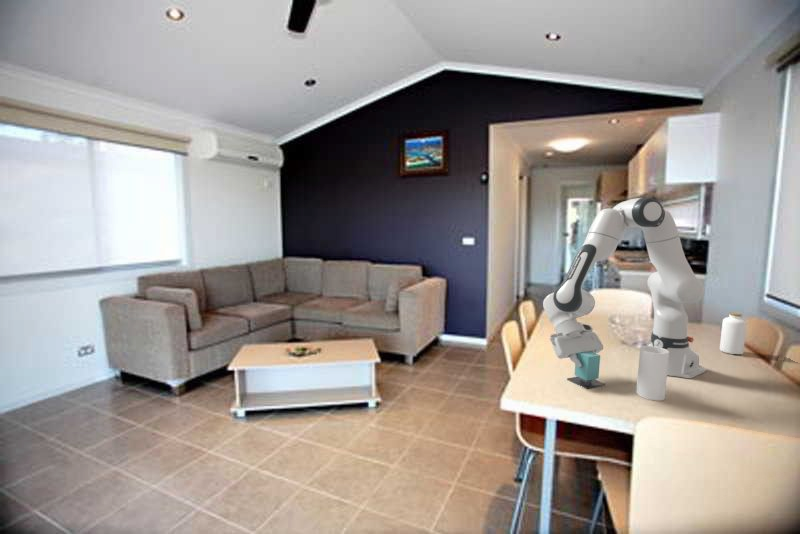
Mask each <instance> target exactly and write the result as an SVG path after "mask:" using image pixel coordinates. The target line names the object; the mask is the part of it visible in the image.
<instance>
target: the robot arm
mask: <svg viewBox="0 0 800 534" xmlns="http://www.w3.org/2000/svg"><path fill="white" fill-rule="evenodd" d="M638 228H639V229H640V230H641V231H642V232H643V237H644V240H645V241H644V242H645V245H646V250H647V254H648V256H649V257H648V258H649V261H650V262H651V264H652V265H653V266H654V268H655V270H656V271H654V272H652V273H651V274H650V275H649V276H648V278H647V282H646V283H647V288H648V289H649V291H650V294H651V295H650V296H651V301H652V305H653V307H652V308H653V325H652V328H653V329H652V332H651V333H650V334H651V335H650V343H649V344H648V346H655V347H660V348H664V349H666V350H668V351H669V359H668V370H667V376H671V377H677V378H678V377H679V378H685V379H692V378H695V377H698V375H701V374H703V373H705V372H707V369H706V368H705V366H702V365H700V356H699V354H697V353H696V351H694V350H693V349H692V348H691V347H690V344H689V343H693V342H694V337H692V336H688V326H689V317H688V314H687V312H686V310H685V307H684V306H685V305H692V304H696V303H698V302H699V301H700V300H701V299H702V298H703V297H704V294H705V286H704V284H703V283H702V282H701V281H700V280H699V279H698V278H697V276H696V275H695V272H694V271H693V269H692V267H691V265H690V264H689V262H688V259H687V258H686V256H685V253H684V249H683V244H682V242H681V238H680V234H679V230H678V228H677V224H676V222H675V220H674V217H673V216H672V213H671V212H669V211H668V210H666V209H664V206H663V204H662V203H661V202H660V201H659V200H657V199H656V198H653V197H647V196H646V197H637V198H631V199H627V200H625V201H619V202H617V203H615V204H613V205H612V206H611V207H610V208H603V209H601V210H599V212H598V213H597V214H596V215H595V217H594V219H593V221H592V223H591V225H590V227H589V229H588V233H587V235H586V238H585V239H584V241H583V244H582V246H581V247H580V248H579V250H578V251H577V253H576V255H575V257H574V259H573V260H572V263H571V265H570V266H569V269H568V271H567V273H566V275H565V277H564V278H563V280H562V282H561V283H560V284H559V285H558V286H557V287H556V289H555V290H554V291H553V292H552V293H549V294H548V295H546V297H545V298H544V299H543V302H542V307H543V310H544V312H545V313H546V316H547V319H548V321H550V322H551V324H552V325H553V328H554V332H555V333H552V334H551V335H550V336H549V340H550V342H551V345H552V348H553V349H552V350H553V351H554V353H555V355H556V357H557V359H561V360H562V359H566V358H569V360H570V361H571V362H573V363H574V365H575V364H576V365H577V367H578V368H581V367H583V366H584V364H583V363H582V361H579V360H578V359H577V358H576V357H577V356H576V354H578V353H583V352H589V351H590V352H593V353H595V354H598V353H601V351H603V350H604V345H603V343H602V341H601V339H600V337H599V336H598V334H596V332H594V328H593V326H592V325H589V324H585V323H582V322H578V319H577V318H581V317H583V316H586V315H588V314H590V313H591V312H592V311H593V310H594V308H595V307H596V305H595V304H596V299H595V297H594V296H593V294H591V293H590V292H588V291H587V290H584V289H583V284H584V283H585V281H586V278H587V276H588V274H589V272H590V270H591V268H592V266H594V265H595V264H596V263H598V262H603V261H606V260H608V259H610V258H611V257H612V256H613V254H614V253H615V252H616V249H617V247H618V245H619V242H620V239H621V236H622V233H623V232H624V231H625V230H626V229H638Z"/></svg>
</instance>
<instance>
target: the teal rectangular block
mask: <svg viewBox="0 0 800 534" xmlns="http://www.w3.org/2000/svg"><path fill="white" fill-rule="evenodd" d="M576 356H577V357H576V358H577V359H578V360H579V361H582V363H583V364H584V366H583V367H581V368H578V367H577V365H576V364H575V363H574V376H575V377H577V376H578V377H580V378H582V379H584V380H586V381H588V380H593V379H595V380H598V379H599V377H600V376H599V375H600V366H601V363H600V362H601V355H600V354H598V353H596V354H595V353H593V352H590V351H589V352H583V353H578V354H576Z"/></svg>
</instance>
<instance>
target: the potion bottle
mask: <svg viewBox="0 0 800 534" xmlns="http://www.w3.org/2000/svg"><path fill="white" fill-rule="evenodd" d="M747 324H748V323H747V321H746V320H745V319H743V318H742V314H741V313H738V312H729V314H728V317H724V318H723V319H722V325H721V334H720V340H719V341H720V342H719V351H721V352H722V351H723V352H722V353H724V352H726V353H725V354H727V353H730V354H729V355H732V354H741V355H743V354H744V349H745V341H746V335H747V333H746V332H747Z"/></svg>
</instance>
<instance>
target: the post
mask: <svg viewBox="0 0 800 534" xmlns="http://www.w3.org/2000/svg"><path fill="white" fill-rule="evenodd" d="M566 381H569V382H571V383H573V384H575V385H577V386H579V385H580V386H579V387H581V386H582V387H581V388H583V387H584V388H583V389H585V388H586V389H585V390H589V388H590V389H595V388H600V387H604V386H606V383H604V382H601V380H598V379H593V380H588V381H586V380H584V379H582V378H580V377H578V376H572V377H568V378H566Z"/></svg>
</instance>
